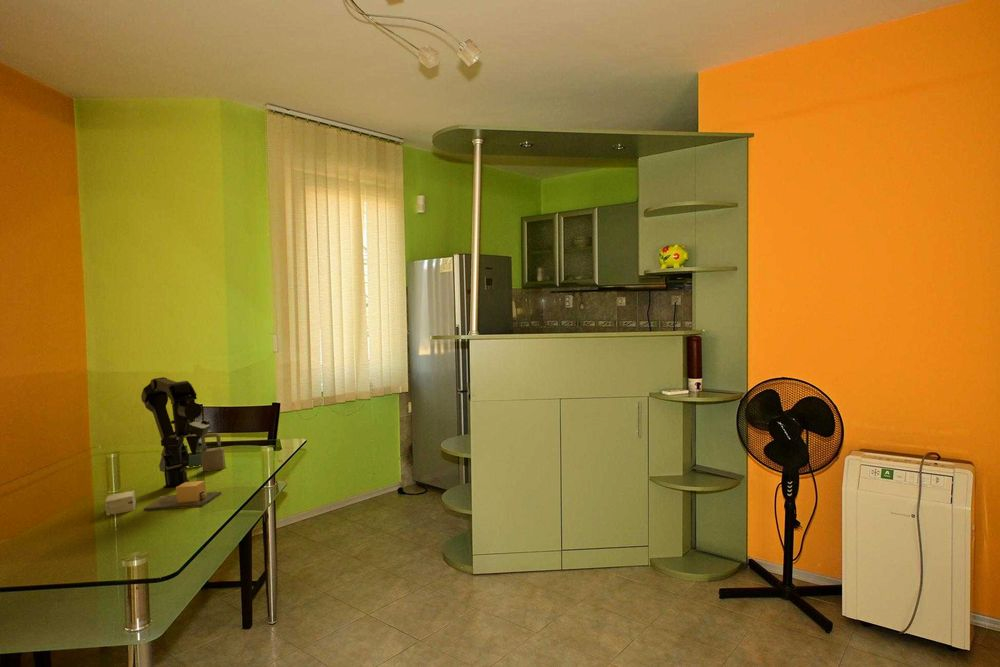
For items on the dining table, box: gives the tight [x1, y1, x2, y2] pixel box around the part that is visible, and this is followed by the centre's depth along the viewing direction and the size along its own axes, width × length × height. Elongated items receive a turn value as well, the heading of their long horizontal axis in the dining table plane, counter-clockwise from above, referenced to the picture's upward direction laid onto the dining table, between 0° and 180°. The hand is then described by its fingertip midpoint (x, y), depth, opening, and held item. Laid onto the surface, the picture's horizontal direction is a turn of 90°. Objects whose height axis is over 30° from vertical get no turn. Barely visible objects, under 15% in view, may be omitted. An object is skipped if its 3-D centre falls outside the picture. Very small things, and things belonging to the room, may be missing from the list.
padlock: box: [200, 432, 227, 472], centre depth 235 cm, size 4×8×15 cm, turn 98°
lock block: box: [175, 480, 207, 502], centre depth 195 cm, size 7×5×5 cm
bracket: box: [184, 444, 208, 467], centre depth 246 cm, size 9×9×9 cm
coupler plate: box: [143, 491, 222, 512], centre depth 195 cm, size 20×12×2 cm, turn 88°
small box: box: [104, 489, 137, 516], centre depth 193 cm, size 8×8×5 cm
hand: (187, 458), depth 208 cm, fingers open, 9 cm apart
